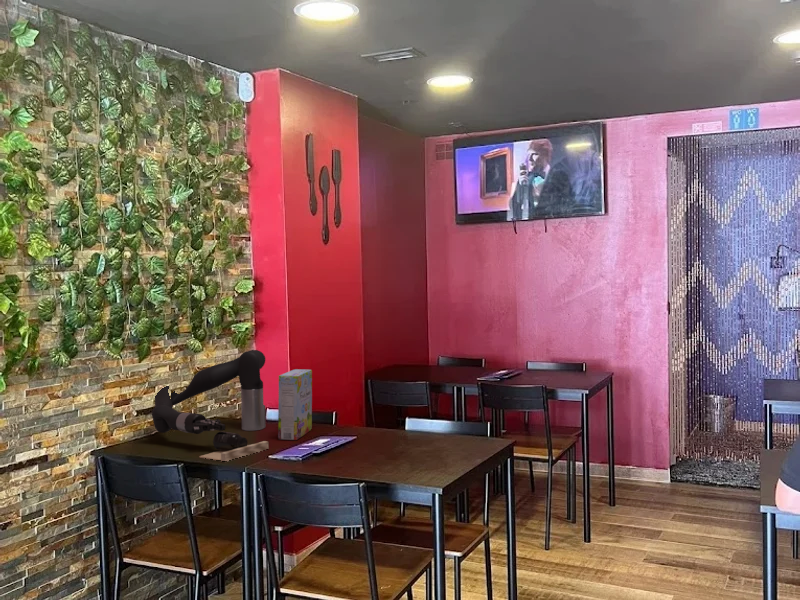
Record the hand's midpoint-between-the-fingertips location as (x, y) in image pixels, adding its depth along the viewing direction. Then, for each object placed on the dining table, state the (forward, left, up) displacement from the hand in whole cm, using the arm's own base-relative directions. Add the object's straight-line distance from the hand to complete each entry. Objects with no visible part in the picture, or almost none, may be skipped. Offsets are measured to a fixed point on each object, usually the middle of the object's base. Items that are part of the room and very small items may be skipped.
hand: (223, 427), depth 286 cm
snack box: (-36, +4, -9) cm, 37 cm away
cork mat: (0, +4, -9) cm, 10 cm away
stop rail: (0, +11, -9) cm, 14 cm away
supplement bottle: (0, -3, -5) cm, 6 cm away
